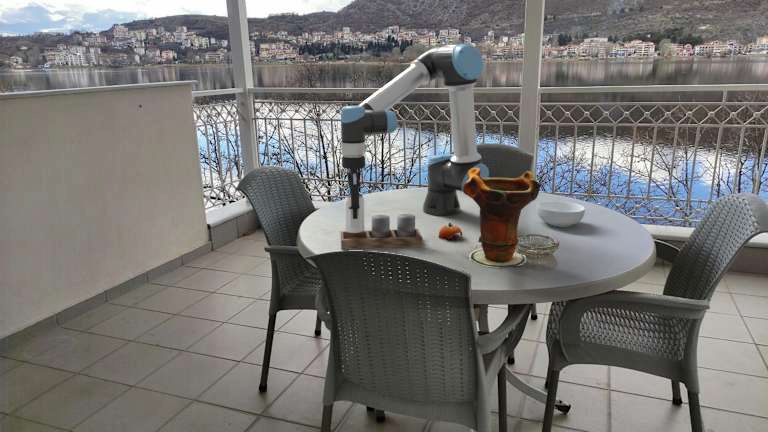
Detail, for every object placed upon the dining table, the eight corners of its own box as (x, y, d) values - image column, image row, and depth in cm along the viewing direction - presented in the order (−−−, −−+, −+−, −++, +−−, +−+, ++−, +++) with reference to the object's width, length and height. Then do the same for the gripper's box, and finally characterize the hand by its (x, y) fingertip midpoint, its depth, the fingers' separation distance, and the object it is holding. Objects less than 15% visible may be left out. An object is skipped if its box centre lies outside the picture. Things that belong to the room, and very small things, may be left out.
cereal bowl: (590, 223, 198) (592, 205, 196) (571, 234, 186) (573, 214, 184) (548, 215, 209) (549, 198, 207) (527, 224, 197) (529, 206, 196)
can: (367, 231, 174) (367, 196, 171) (349, 234, 171) (349, 198, 168) (359, 226, 180) (359, 192, 176) (341, 229, 177) (341, 194, 174)
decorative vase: (549, 267, 155) (552, 174, 147) (472, 274, 153) (471, 180, 145) (525, 244, 175) (527, 160, 167) (456, 250, 173) (455, 166, 165)
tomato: (465, 230, 185) (460, 219, 180) (463, 247, 182) (458, 236, 176) (444, 231, 189) (438, 220, 183) (441, 248, 185) (435, 237, 180)
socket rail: (417, 236, 184) (417, 212, 181) (422, 245, 175) (422, 219, 172) (340, 239, 181) (340, 214, 178) (341, 248, 172) (340, 222, 169)
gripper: (367, 160, 160) (368, 233, 166) (363, 150, 178) (364, 216, 185) (342, 160, 159) (344, 233, 165) (341, 150, 177) (342, 216, 184)
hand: (354, 224), depth 175 cm, fingers closed on can, 6 cm apart
